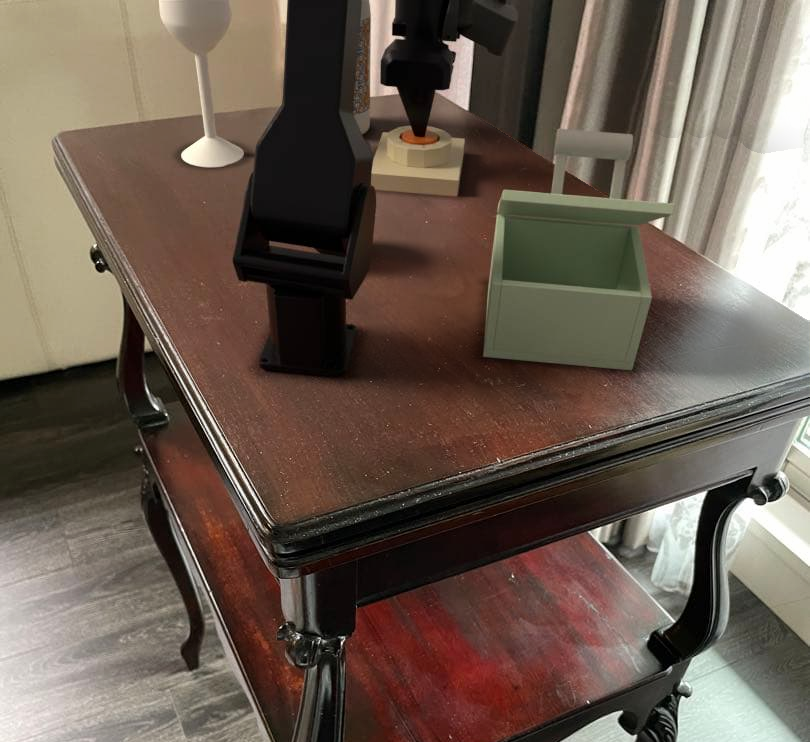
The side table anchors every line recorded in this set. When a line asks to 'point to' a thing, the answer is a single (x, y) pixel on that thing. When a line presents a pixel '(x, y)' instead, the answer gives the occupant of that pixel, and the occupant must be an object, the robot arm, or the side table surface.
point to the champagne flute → (202, 69)
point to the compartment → (566, 292)
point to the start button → (419, 138)
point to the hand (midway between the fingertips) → (419, 135)
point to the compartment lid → (584, 206)
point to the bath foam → (363, 71)
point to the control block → (418, 164)
